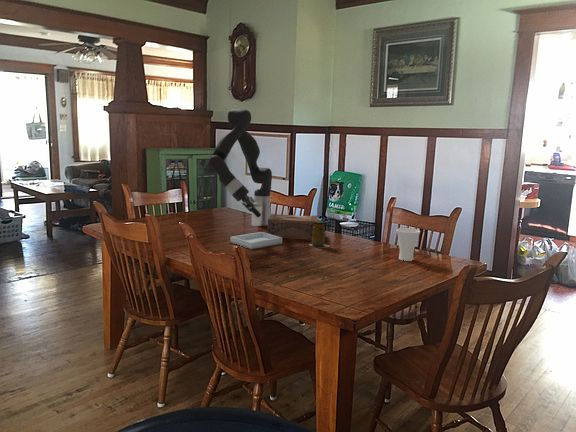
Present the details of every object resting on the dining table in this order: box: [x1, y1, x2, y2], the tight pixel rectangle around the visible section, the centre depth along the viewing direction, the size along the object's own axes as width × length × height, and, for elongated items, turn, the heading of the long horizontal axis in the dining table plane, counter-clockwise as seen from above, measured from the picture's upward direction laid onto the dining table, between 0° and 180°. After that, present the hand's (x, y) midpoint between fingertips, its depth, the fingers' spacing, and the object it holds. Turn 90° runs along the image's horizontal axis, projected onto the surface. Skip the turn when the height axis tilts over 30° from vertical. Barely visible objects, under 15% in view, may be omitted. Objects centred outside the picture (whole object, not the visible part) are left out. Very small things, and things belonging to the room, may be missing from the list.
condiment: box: [308, 220, 331, 249], centre depth 244 cm, size 7×8×12 cm
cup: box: [396, 227, 421, 262], centre depth 224 cm, size 10×10×14 cm
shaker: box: [250, 202, 262, 227], centre depth 243 cm, size 5×5×11 cm
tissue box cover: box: [267, 213, 319, 241], centre depth 264 cm, size 26×14×10 cm, turn 85°
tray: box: [230, 231, 283, 250], centre depth 245 cm, size 20×16×3 cm
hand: (260, 215), depth 243 cm, fingers closed on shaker, 5 cm apart
